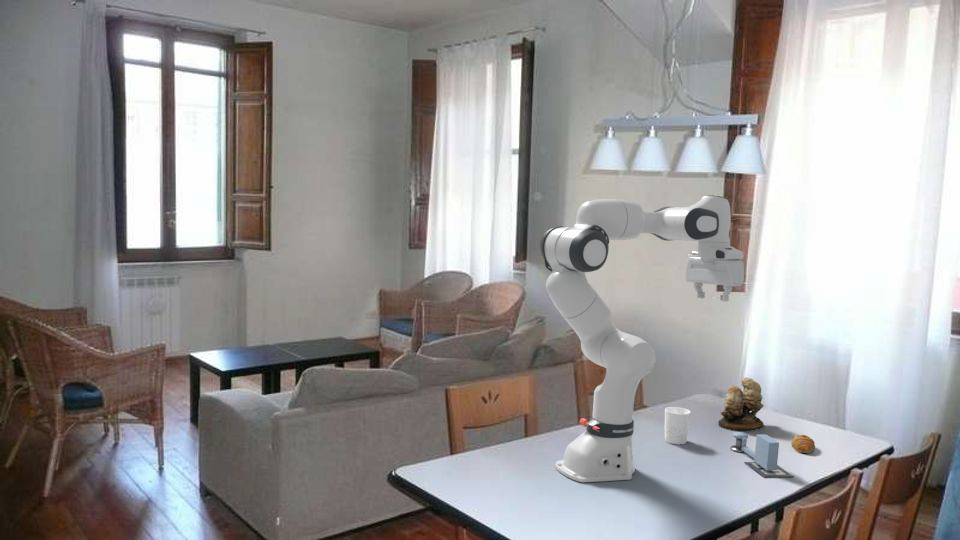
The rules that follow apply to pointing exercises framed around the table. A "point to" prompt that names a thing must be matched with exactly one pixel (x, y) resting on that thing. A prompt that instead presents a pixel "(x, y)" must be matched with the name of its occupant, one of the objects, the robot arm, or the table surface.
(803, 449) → the pastry
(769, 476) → the label panel
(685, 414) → the white cup
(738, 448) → the pivot post
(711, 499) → the table surface
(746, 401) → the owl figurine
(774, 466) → the swing arm
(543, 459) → the table surface
